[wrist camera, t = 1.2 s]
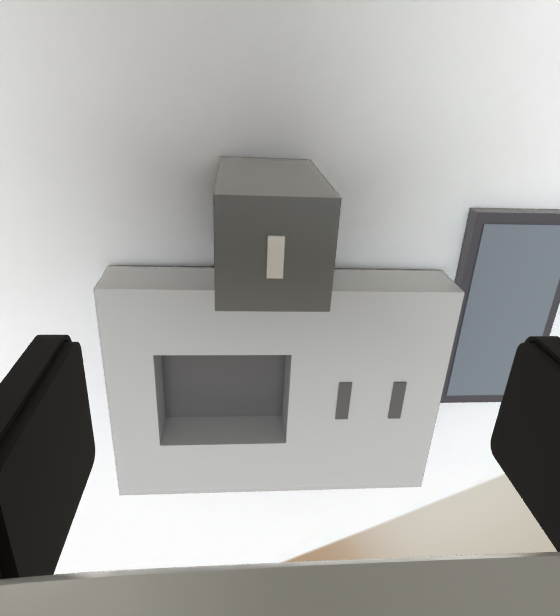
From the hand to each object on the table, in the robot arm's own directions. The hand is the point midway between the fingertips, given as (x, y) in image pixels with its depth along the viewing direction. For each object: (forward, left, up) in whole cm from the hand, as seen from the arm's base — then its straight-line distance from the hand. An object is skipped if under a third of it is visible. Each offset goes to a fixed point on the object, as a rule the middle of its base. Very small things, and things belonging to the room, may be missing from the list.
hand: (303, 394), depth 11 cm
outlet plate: (+10, +1, -16) cm, 19 cm away
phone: (+6, +14, -17) cm, 23 cm away
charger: (0, 0, -16) cm, 16 cm away
